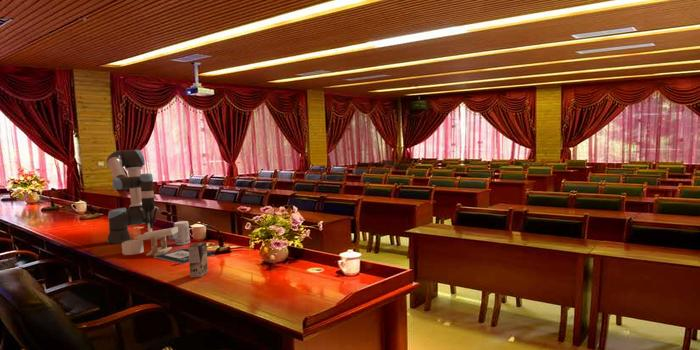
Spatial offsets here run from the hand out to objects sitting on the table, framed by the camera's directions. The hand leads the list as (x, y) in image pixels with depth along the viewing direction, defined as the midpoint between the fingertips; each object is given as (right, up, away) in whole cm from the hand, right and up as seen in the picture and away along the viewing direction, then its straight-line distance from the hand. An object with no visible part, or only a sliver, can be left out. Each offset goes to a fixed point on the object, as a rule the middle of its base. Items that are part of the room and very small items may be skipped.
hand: (150, 233), depth 301 cm
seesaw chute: (+10, -3, -6) cm, 12 cm away
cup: (-7, -11, -9) cm, 16 cm away
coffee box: (+52, -14, -63) cm, 83 cm away
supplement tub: (+17, -9, +12) cm, 23 cm away
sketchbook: (+30, -12, -23) cm, 40 cm away
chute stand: (+10, -11, -9) cm, 17 cm away
